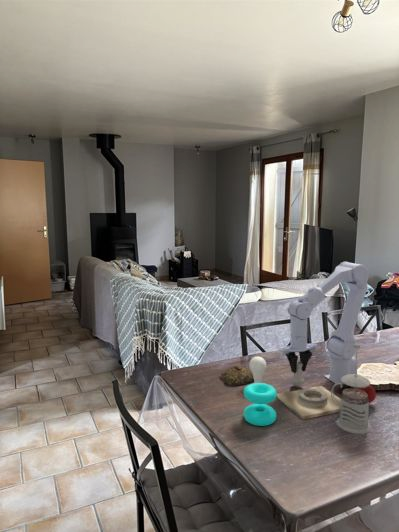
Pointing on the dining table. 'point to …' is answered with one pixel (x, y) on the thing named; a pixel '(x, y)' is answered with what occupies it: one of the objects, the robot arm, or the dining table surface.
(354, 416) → the french press
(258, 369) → the lightbulb
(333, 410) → the ring board
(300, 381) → the rook chess piece
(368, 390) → the pomegranate
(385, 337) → the dining table surface
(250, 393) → the donuts
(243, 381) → the bread roll
